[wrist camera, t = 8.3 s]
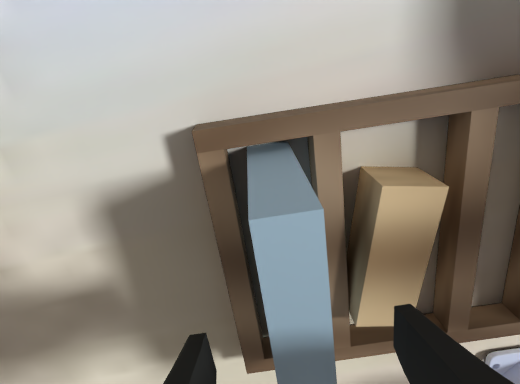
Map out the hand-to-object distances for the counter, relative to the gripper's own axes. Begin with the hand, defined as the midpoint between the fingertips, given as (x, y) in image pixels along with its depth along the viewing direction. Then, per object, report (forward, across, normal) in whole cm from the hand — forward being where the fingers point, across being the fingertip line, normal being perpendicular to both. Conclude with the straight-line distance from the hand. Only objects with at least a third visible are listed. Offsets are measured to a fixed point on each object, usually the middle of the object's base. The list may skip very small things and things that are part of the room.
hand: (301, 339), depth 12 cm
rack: (+6, -6, 0) cm, 9 cm away
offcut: (+7, -5, 0) cm, 9 cm away
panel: (+6, 0, 0) cm, 7 cm away
